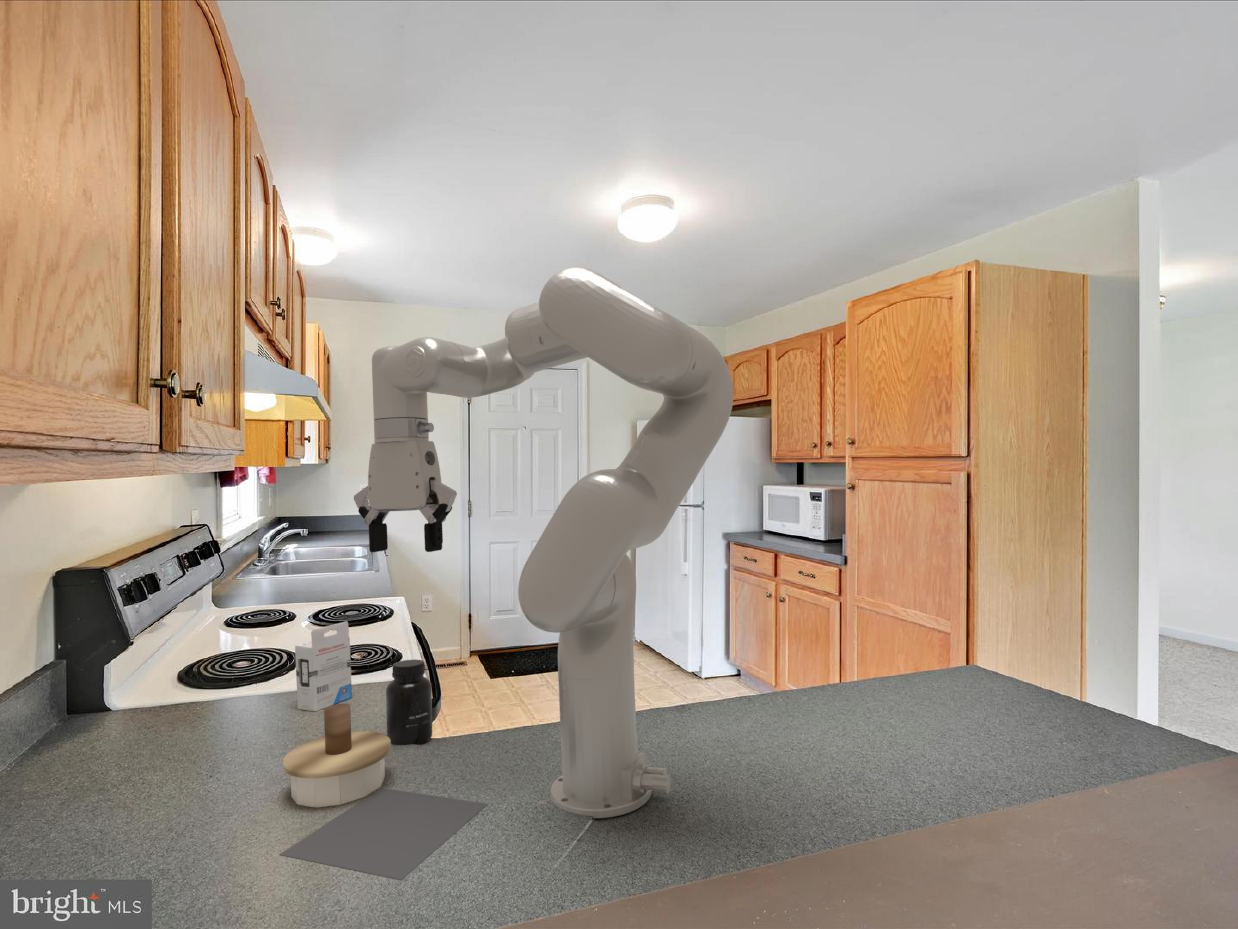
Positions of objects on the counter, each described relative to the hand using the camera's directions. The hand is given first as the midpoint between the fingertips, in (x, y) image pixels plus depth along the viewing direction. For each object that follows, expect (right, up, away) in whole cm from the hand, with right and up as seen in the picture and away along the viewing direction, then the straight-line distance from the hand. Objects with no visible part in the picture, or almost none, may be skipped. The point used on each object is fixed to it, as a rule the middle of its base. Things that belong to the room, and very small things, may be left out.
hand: (405, 551), depth 96 cm
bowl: (-6, -30, -9) cm, 32 cm away
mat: (+5, -30, -20) cm, 36 cm away
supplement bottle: (-2, -31, +8) cm, 32 cm away
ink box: (-24, -32, +28) cm, 49 cm away
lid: (-6, -26, -9) cm, 28 cm away
